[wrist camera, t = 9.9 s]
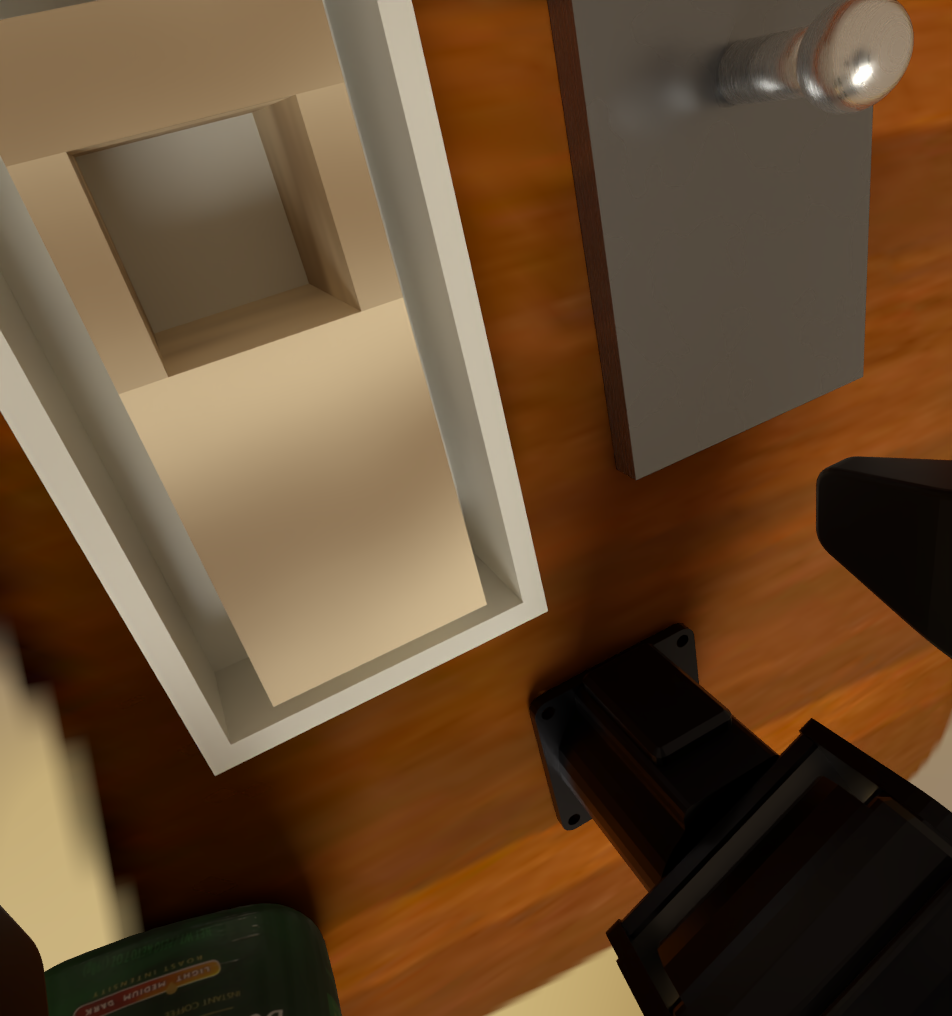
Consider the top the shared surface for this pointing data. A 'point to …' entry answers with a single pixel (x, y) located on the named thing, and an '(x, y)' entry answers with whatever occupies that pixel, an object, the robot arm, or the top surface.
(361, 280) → the beige rectangular block
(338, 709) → the tray
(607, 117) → the stud base
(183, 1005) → the coffee jar
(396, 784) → the top surface
